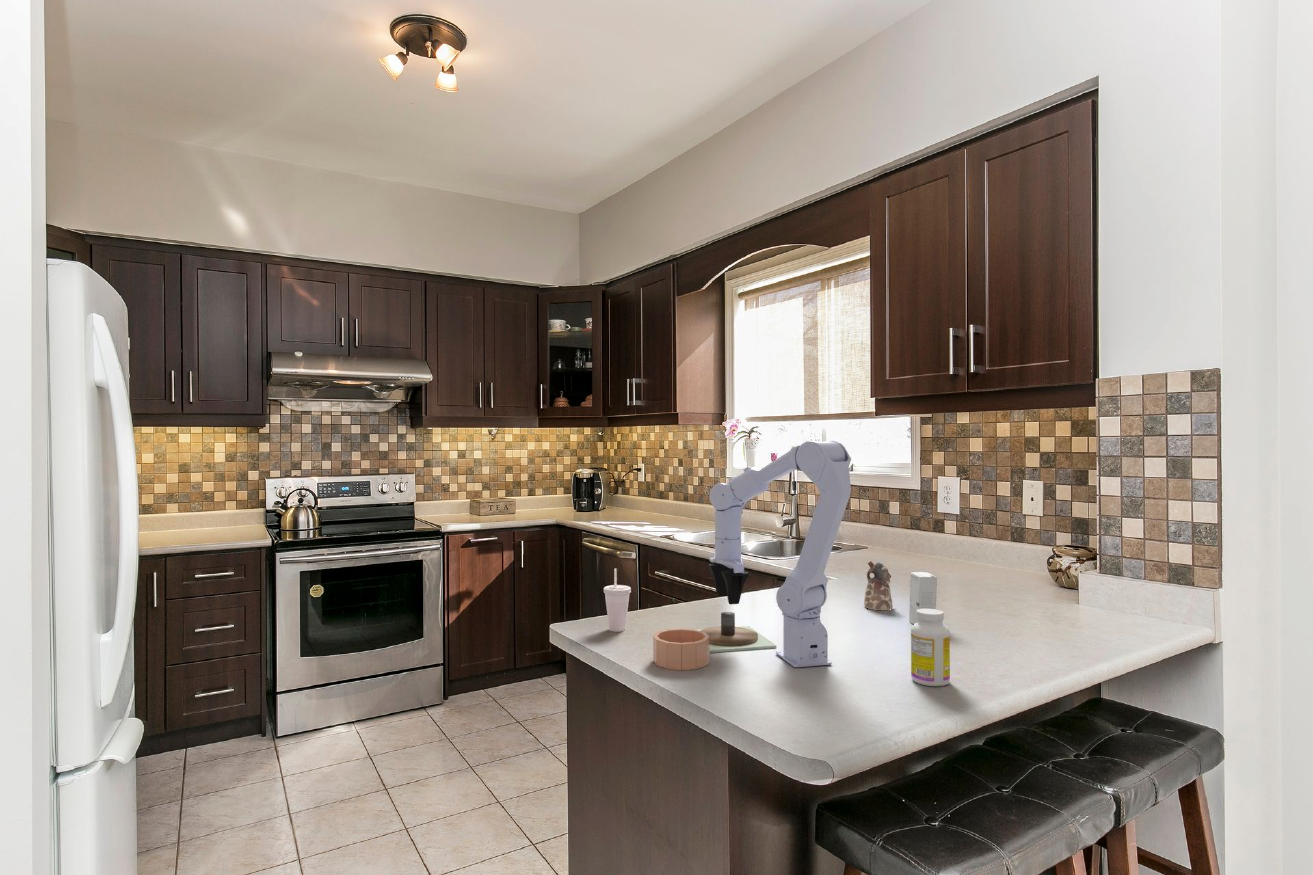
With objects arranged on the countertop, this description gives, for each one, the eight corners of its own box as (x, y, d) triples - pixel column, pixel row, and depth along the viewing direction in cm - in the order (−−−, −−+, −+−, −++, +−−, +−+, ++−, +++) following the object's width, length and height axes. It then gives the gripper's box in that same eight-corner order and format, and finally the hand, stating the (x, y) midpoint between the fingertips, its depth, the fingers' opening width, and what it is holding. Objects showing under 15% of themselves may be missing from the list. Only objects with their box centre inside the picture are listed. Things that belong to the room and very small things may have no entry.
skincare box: (908, 621, 175) (908, 571, 175) (926, 621, 175) (926, 571, 175) (918, 628, 169) (918, 576, 169) (937, 628, 169) (937, 576, 169)
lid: (767, 643, 155) (767, 618, 155) (708, 648, 152) (708, 622, 152) (745, 628, 167) (745, 605, 167) (691, 631, 164) (690, 608, 164)
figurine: (886, 612, 184) (887, 565, 184) (859, 608, 189) (860, 562, 189) (896, 607, 190) (896, 561, 190) (870, 603, 194) (870, 558, 194)
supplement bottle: (940, 675, 136) (940, 606, 136) (956, 687, 130) (956, 615, 130) (905, 675, 136) (905, 606, 136) (919, 687, 130) (919, 615, 130)
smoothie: (616, 624, 172) (616, 565, 172) (636, 629, 168) (636, 568, 168) (597, 629, 167) (597, 569, 167) (618, 634, 163) (618, 572, 163)
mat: (776, 647, 154) (776, 645, 154) (704, 653, 150) (704, 650, 150) (749, 628, 169) (749, 625, 169) (682, 632, 165) (682, 630, 165)
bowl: (715, 667, 141) (715, 641, 141) (661, 671, 138) (661, 645, 138) (699, 651, 151) (699, 627, 151) (648, 654, 149) (648, 630, 148)
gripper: (700, 533, 166) (700, 593, 166) (721, 543, 151) (721, 608, 152) (730, 532, 167) (729, 592, 167) (753, 542, 153) (753, 606, 153)
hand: (727, 599), depth 160 cm, fingers open, 7 cm apart
